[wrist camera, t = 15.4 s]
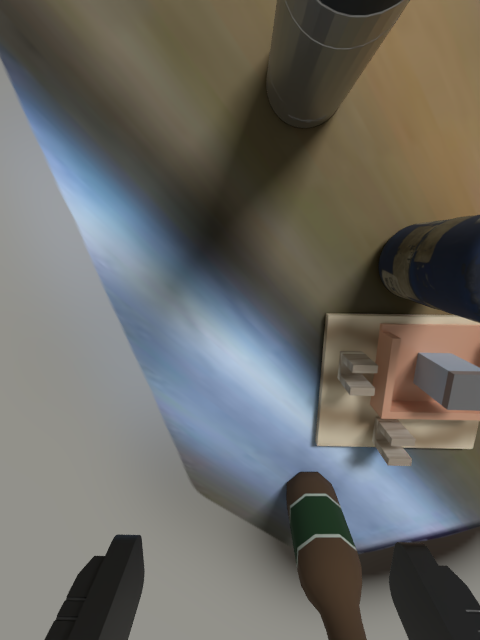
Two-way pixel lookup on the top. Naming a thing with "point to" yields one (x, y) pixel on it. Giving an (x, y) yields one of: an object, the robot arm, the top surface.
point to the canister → (436, 265)
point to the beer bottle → (325, 555)
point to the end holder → (400, 363)
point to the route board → (356, 390)
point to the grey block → (449, 380)
